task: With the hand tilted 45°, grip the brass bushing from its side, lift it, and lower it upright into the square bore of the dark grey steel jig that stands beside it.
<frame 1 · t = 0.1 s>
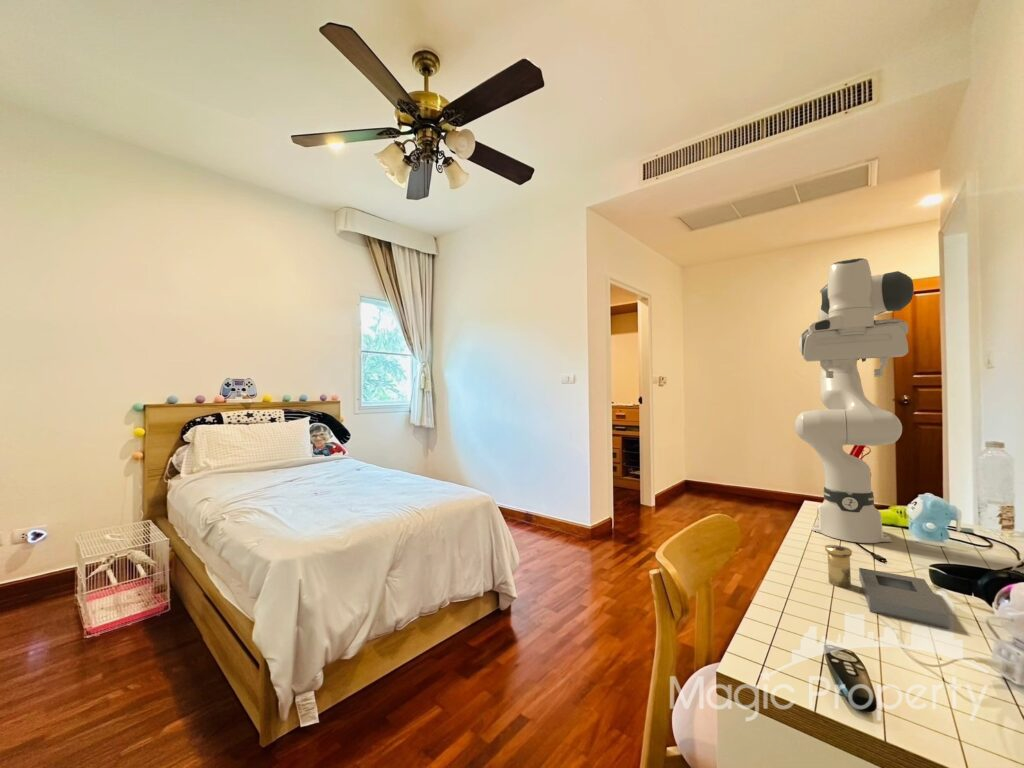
hand: (853, 377, 103), 48 cm above the table, tool pointing down, fingers open, 8 cm apart
bushing: (839, 583, 94), on the table
jig: (898, 600, 86), on the table
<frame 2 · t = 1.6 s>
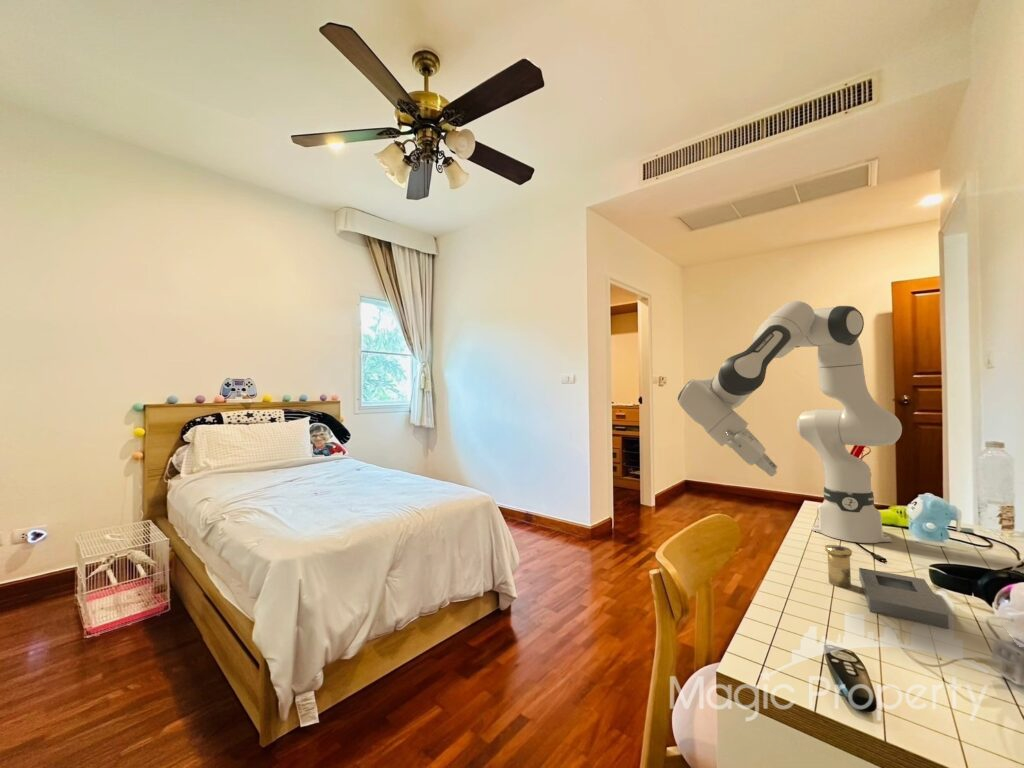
hand: (774, 471, 101), 24 cm above the table, tool tilted 45°, fingers open, 8 cm apart
nothing on the table moved.
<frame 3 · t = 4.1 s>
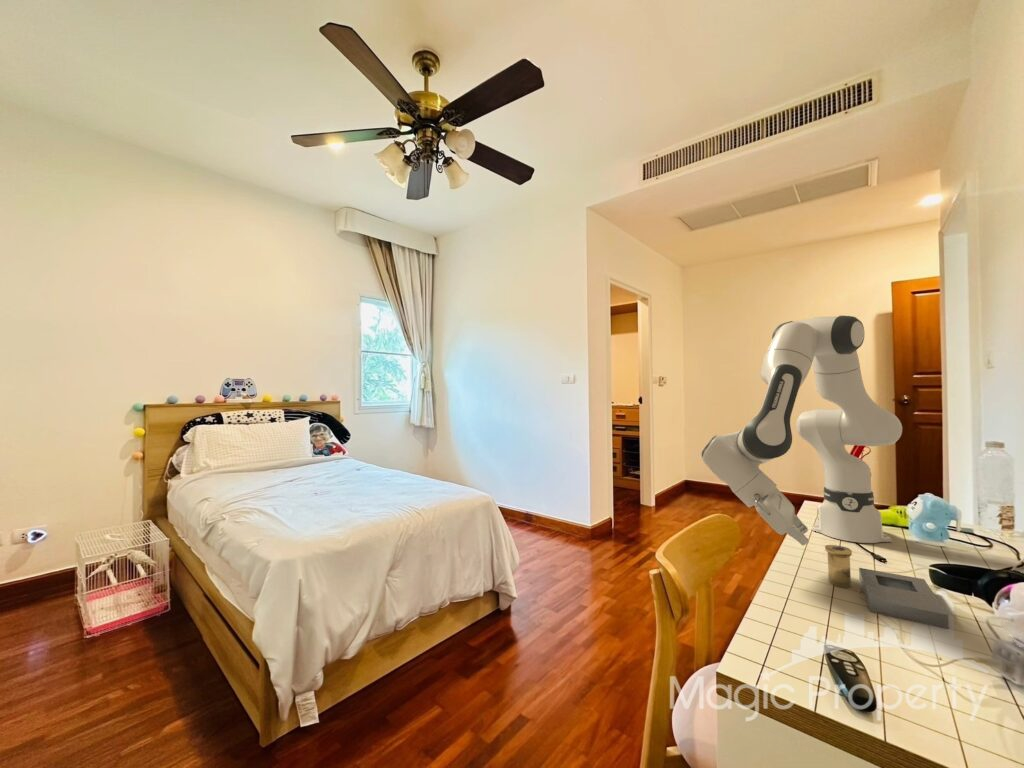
hand: (806, 537, 98), 9 cm above the table, tool tilted 45°, fingers open, 8 cm apart
nothing on the table moved.
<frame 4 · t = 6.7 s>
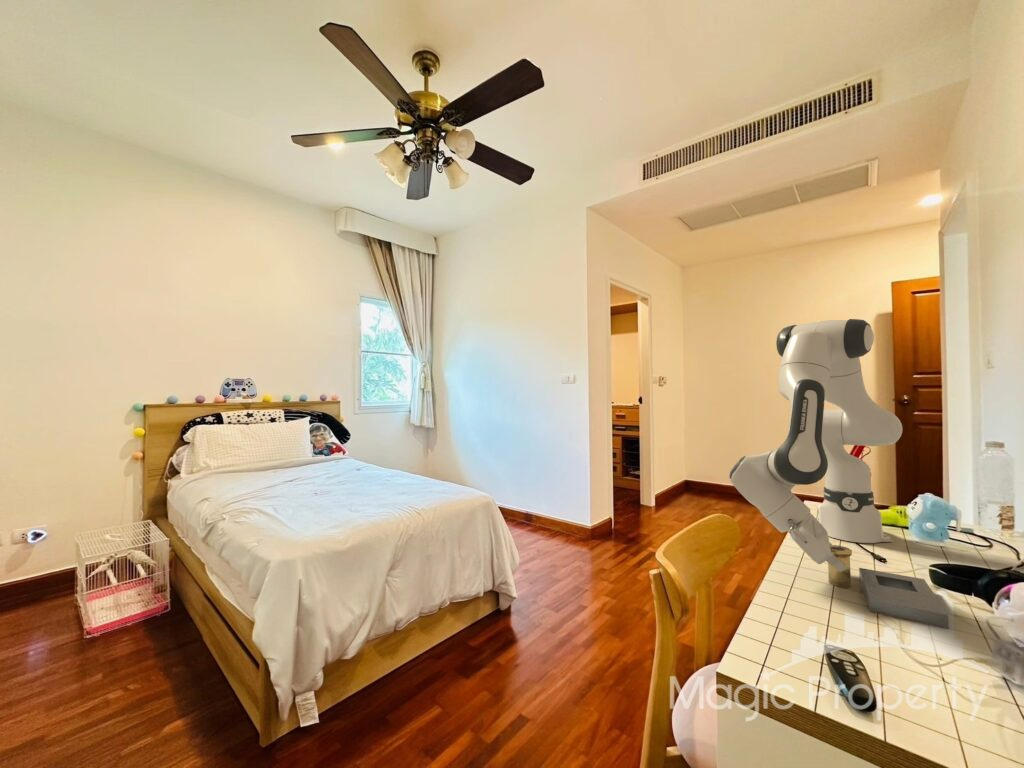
hand: (842, 565, 94), 4 cm above the table, tool tilted 45°, fingers closed on bushing, 4 cm apart
bushing: (839, 583, 94), on the table, touching gripper
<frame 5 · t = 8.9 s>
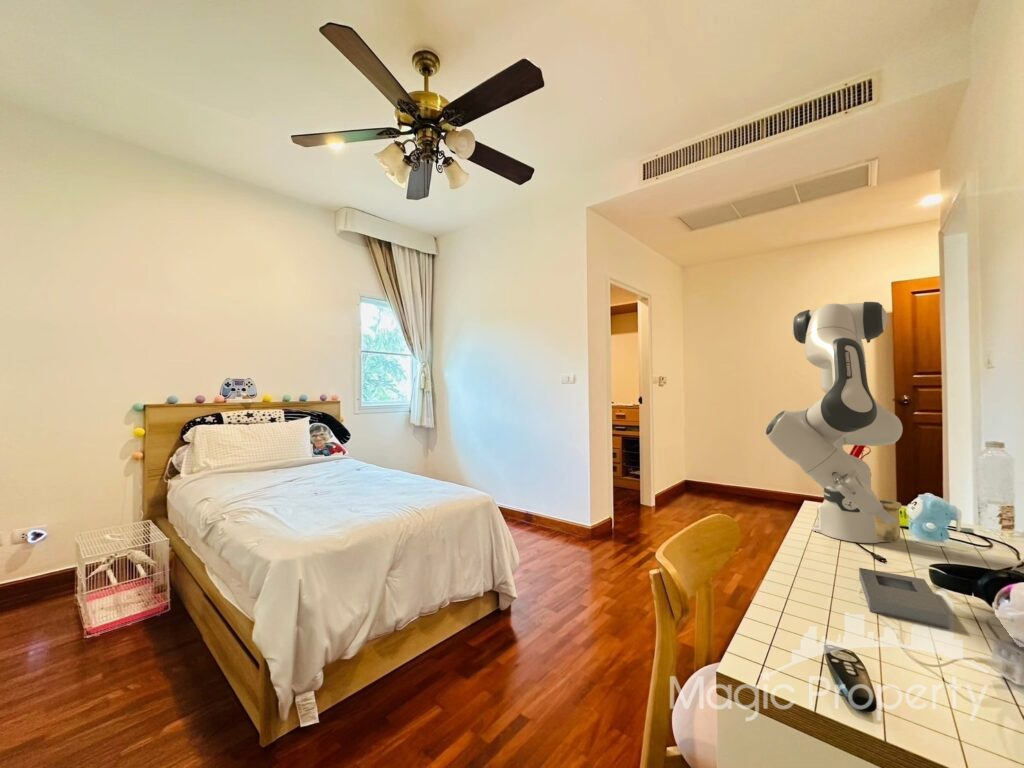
hand: (891, 519, 89), 16 cm above the table, tool tilted 45°, fingers closed on bushing, 4 cm apart
bushing: (887, 539, 89), point 12 cm above the table, touching gripper
when the fingers open (5 cm above the table, at t = 11.0 s): bushing stays where it is, resting in jig.
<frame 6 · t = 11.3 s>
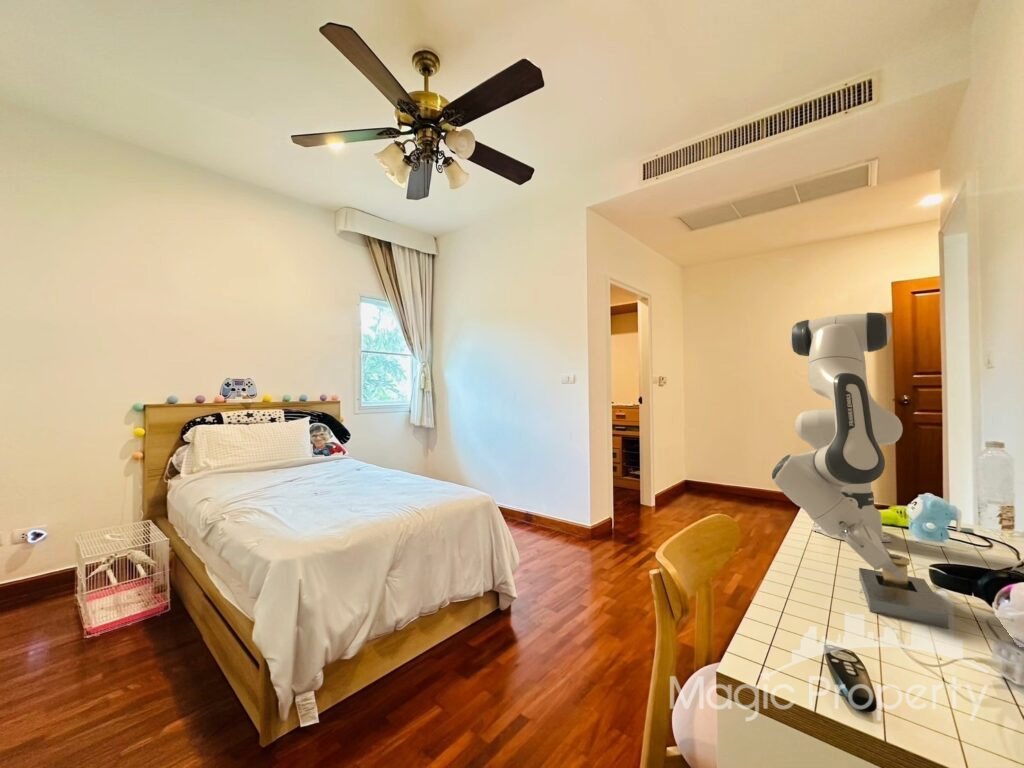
hand: (898, 570, 88), 5 cm above the table, tool tilted 45°, fingers open, 7 cm apart
bushing: (895, 594, 88), resting in jig
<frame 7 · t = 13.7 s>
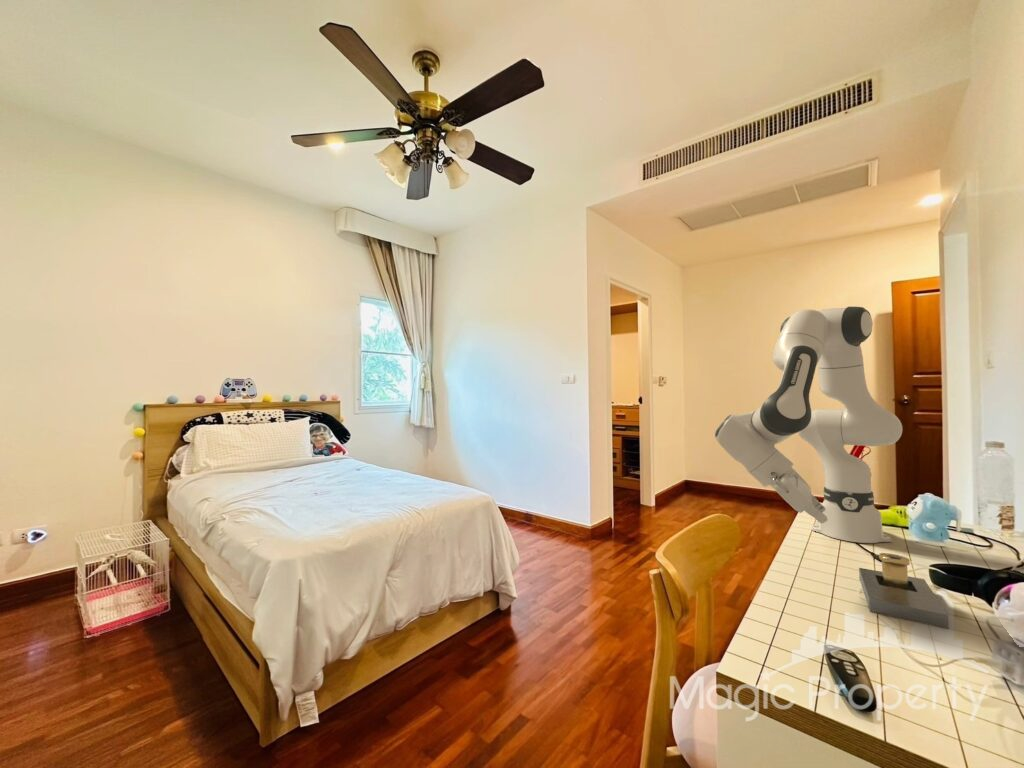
hand: (824, 516, 96), 15 cm above the table, tool tilted 45°, fingers open, 8 cm apart
nothing on the table moved.
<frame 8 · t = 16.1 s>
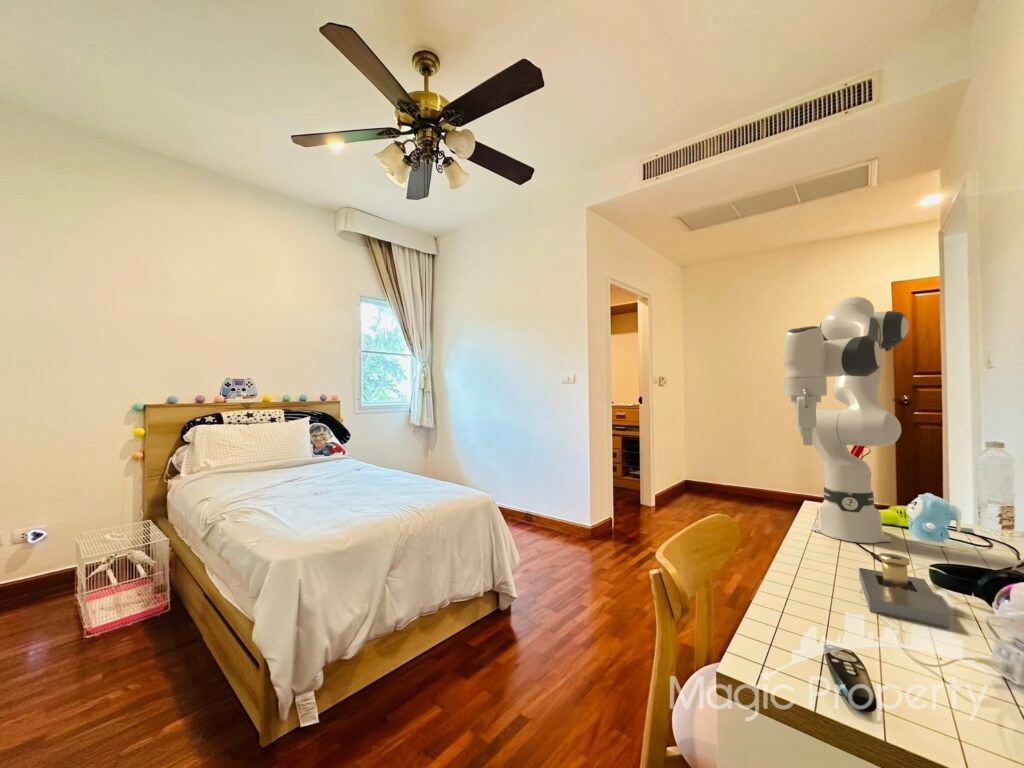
hand: (807, 443, 104), 31 cm above the table, tool pointing down, fingers open, 8 cm apart
nothing on the table moved.
at the end: bushing 0.1 cm from the target spot on the jig, point 0.0 cm above the jig's base; bushing tilted 0°; the gripper is holding nothing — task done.
